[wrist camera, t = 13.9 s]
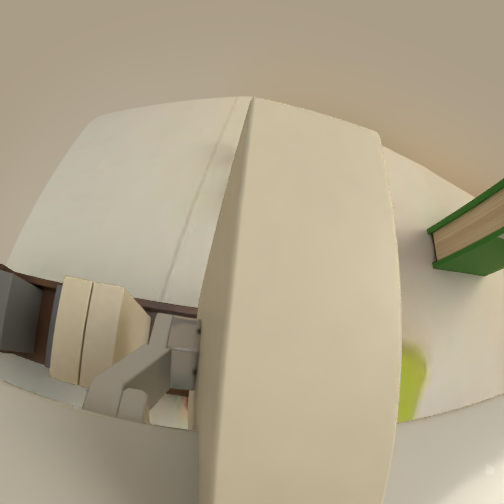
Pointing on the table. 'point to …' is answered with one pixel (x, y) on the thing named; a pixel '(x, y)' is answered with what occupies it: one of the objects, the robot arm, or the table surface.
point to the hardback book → (473, 235)
